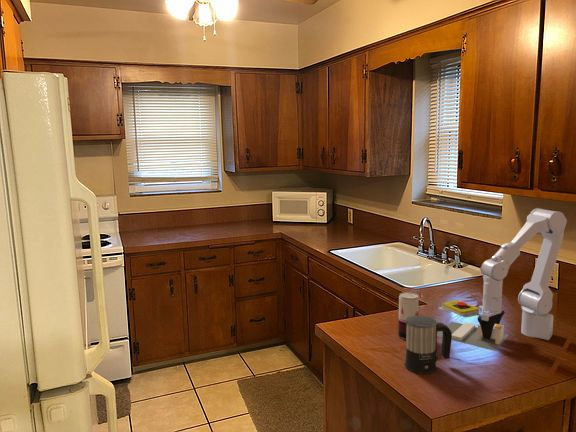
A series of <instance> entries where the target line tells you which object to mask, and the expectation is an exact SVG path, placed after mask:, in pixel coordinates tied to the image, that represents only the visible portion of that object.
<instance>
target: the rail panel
mask: <svg viewBox="0 0 576 432" xmlns="http://www.w3.org/2000/svg"><path fill="white" fill-rule="evenodd" d="M446 326H447V327H448V328H449V329H450V330H451V333H452V339H451V341H454V342H459V343H461V344H466V345H470V346H474V347H477V348H481V349H486V350H490V351H494V352H497V350H498V349H499V347H501V345H503V343H504V342H505V341H506V340H507V338H508V337H509V336H510V334H508V333H503V341H502V342H501V343H500V344H495V339H493V338H490V339H485V338H483V339H482V340H479V339H477V336H478V326H476V324H474V323H470V322H464V323H460V322H457V321H456V322H454V321H450V322H449V323H448V324H447V325H446ZM438 337H439V338H442V337H443V331H437V338H438Z"/></svg>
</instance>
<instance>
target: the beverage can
mask: <svg viewBox="0 0 576 432" xmlns="http://www.w3.org/2000/svg"><path fill="white" fill-rule="evenodd" d="M419 299H420V298H419V295H418V294H417V293H415V292H407V291H405V292H401V293H399V296H398V330H397V331H398V332H397V333H398V337H399V338H401V339H402V340H406V330H407V324H406V318H408V317H410V316H416V315H419V306H420V305H419Z"/></svg>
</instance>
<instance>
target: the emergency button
mask: <svg viewBox="0 0 576 432" xmlns="http://www.w3.org/2000/svg"><path fill="white" fill-rule="evenodd" d="M441 305H442V306H439V307H438V309H439V310H441V311H444V313H445V312H446V313H448V314H450V313H453V314H456V315H459V316H460V317H465V316H466V317H467V316H470V315H474V316H477V317H479V316H482V314H480V309H479V307H477V306H474V305H472V304H470V303H467V302H465V301H463V300H460V299H458V300H452V301H445V302H442V304H441Z"/></svg>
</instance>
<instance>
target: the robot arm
mask: <svg viewBox="0 0 576 432" xmlns="http://www.w3.org/2000/svg"><path fill="white" fill-rule="evenodd" d="M567 223H568V219H567V218H566V216H565V214H564V213H563V212H561V211H554V210H549V209H545V208H544V209H543V208H540V207H536V208H534V209H532V211H530V213H529V214H528V215H527V216H526V222H525V223H524V224H523V226H522V227H521V228H520V229H519V231H518V232H517V234H516V235H515V236H514V237H513V239H512V240H511V241H510V242H504V243H502V244H501V246H500V248H499V249H498V250H497V251H496V252H495V253H494V255H493V256H492V257H491V258H489V259H486V260H484V262H483V263H481V267H480V268H479V270H480V273H481V274H482V279H483V288H482V289H483V291H482V292H483V293H482V305H479V306H478V308H479V310H481V315H482V316H477V322H478V325H479V324H480V326H481V330H482V335H483V338H485V339H490V338H491V335H492V330H493V327H494V325H495V324H498V325H501V324H500V323H501V320H502V319H503V316H504V315H505V313H506V311H504V310H503V309H502V302H503V299H502V298H503V297H502V296H503V281H504V279H505V278H507V276H508V273H509V269H510V267H511V265H512V264H513V263H514V262H515V260H517V258H518V257H519V256H520V255H521V250H520V249H522V248H523V247H524V246H525V245H526V244H527V243H528V242H529V241H530V240H531V239H532V238H533V237H534V236H535V235H536V234H538V233H539V234H541V235H542V237H543V240H542V243H541V246H540V250H539V253H538V256H537V260H536V263H535V267H534V270H533V273H532V276H531V279H530V281H529V282H526V283H525V284H523V287H522V289H521V291H519V294H518V297H517V302H518V304H519V305H520V309H521V310H522V313H521V329H520V333H521V334H523V335H524V336H526V337H530V338H537V339H542V340H546V341H550V339H551V338H552V336H553V334H554V333H553V329H554V315H553V314H552V313H550V312H551V310H552V308H553V297H554V293H553V292H552V290H551V288H549V285H550V282H551V278H552V275H553V273H554V268H555V266H556V262H557V260H558V256H559V253H560V250H561V246H562V243H563V240H564V234H565V233H564V232H565V229H566V225H567Z"/></svg>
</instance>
